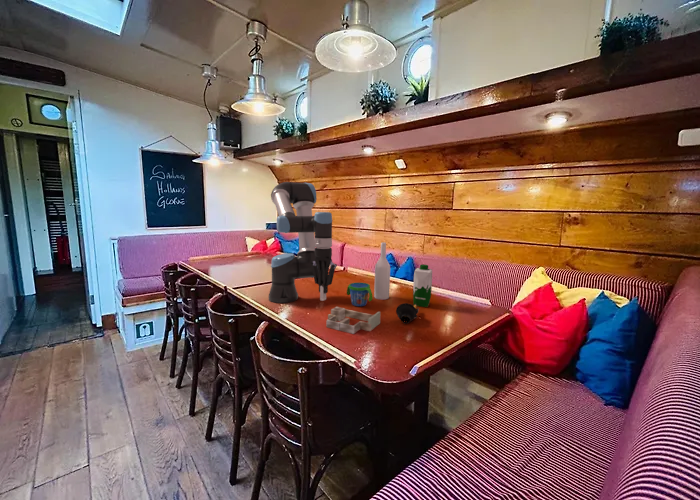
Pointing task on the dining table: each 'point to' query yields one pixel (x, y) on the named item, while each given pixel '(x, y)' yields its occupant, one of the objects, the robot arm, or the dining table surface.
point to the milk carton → (422, 286)
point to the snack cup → (359, 293)
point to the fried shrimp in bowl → (407, 312)
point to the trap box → (346, 327)
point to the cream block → (338, 313)
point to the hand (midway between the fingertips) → (323, 299)
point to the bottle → (382, 276)
